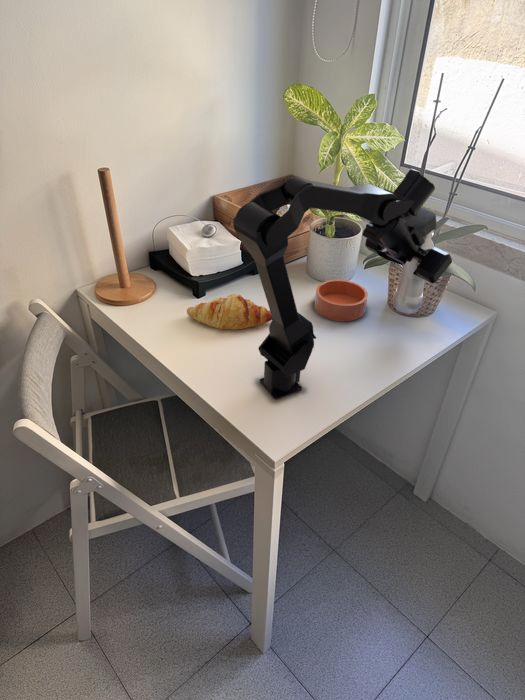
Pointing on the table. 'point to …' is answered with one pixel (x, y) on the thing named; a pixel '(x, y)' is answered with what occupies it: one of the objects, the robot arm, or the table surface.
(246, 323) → the croissant
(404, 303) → the plastic bottle
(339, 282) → the bowl
